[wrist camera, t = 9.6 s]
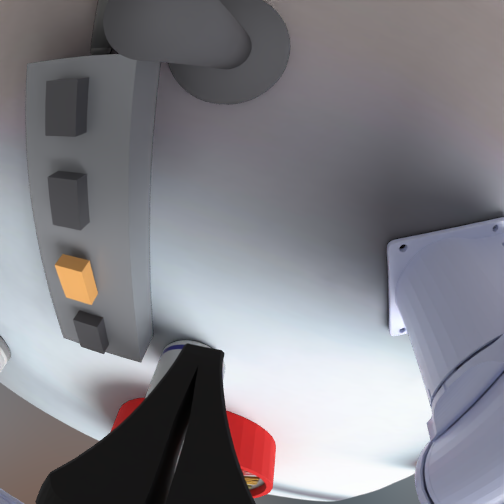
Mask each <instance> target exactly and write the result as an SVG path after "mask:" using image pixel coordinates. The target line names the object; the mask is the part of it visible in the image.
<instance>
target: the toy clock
mask: <svg viewBox="0 0 504 504" xmlns="http://www.w3.org/2000/svg"><path fill="white" fill-rule="evenodd" d="M144 399H145V398H137V399H133V400H130V401H128V402H126V403H124V404H123V405H122V406H121V408H120V409H119V412H118V414H117V417H116V419H115V422H114V425H113V427H112V430H111V431H113V430H114V429H115V428H116V427H117V426H118V425H120V424H121V423H122V422H123V421H124V420H125V419H126V418H127V417H128V416H129V415H130V414H131V413H132V412H133V411H134V410H135V409H136V408H137V407H138V406H139V405H140V404H141V403H142V402H143V400H144ZM226 413H227V418H228V423H229V428H230V432H231V437H232V441H233V444H234V448H235V451H236V455H237V458H238V461H239V464H240V467H241V470H242V472H243V475H244V477H245V480H246V483H247V485H248V487H249V490H250V492H251V495H252V497H253V498H257V497H261V496H263V495H266V494H268V493H269V492H270V491H271V490H272V488H273V477H274V465H275V452H276V445H275V441H274V439H273V438H272V436H271V435H270V434H269V433H268V432H267V431H266V430H265V429H263V428H262V427H260V426H259V425H257V424H256V423H254V422H252V421H250V420H248V419H246V418H244V417H242V416H239V415H237V414H234V413H232V412H229V411H226Z"/></svg>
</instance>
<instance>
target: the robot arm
mask: <svg viewBox="0 0 504 504" xmlns="http://www.w3.org/2000/svg"><path fill="white" fill-rule="evenodd" d="M494 226H495V228H494V229H493V227H494ZM403 244H405V247H404V248H402V249H400V246H401V245H403ZM387 262H388V288H389V332H390V335H392V336H397V335H402V334H406V333H408V336H409V339H410V341H411V344H412V347H413V350H414V353H415V356H416V359H417V362H418V365H419V369H420V372H421V375H422V378H423V382H424V385H425V388H426V392H427V395H428V399H429V402H430V406H431V409H432V417H431V419H430V420H429V421H428V422H427V427H428V431H429V435H430V441H429V442H428V443H427V444H426V446H425V447H424V449H423V450H422V452H421V454H420V456H419V458H418V461H417V465H416V470H415V486H416V491H417V495H418V497H419V500H420V502H421V504H504V217H501V218H497V219H492V220H487V221H483V222H478V223H473V224H469V225H464V226H459V227H454V228H449V229H445V230H440V231H435V232H430V233H425V234H420V235H415V236H410V237H405V238H400V239H395V240H392V241H390V242H389V243H388V245H387ZM401 328H402V329H401ZM223 358H224V352H223V351H222V350H217V349H212V348H207V347H203V346H198V345H193V344H189V343H187V344H185V345H184V346H183V348H182V350H181V352H180V353H179V355H178V357H177V358H176V360H175V361H174V363H173V364H172V366H171V367H170V368H169V370H168V371H167V373H166V374H165V375H164V376H163V378H162V379H161V380H160V382H159V383H158V384H157V385H156V387H155V388H154V389H153V390H152V392H151V393H150V394H149V395H148V396H147V397H146V398H145V399H144V400H143V402H142V403H141V404H140V405H139V406H138V407H137V408H136V409H135V410H134V411H133V412H132V413H131V414H130V415H129V416H128V417H127V418H126V419H125V420H124V421H123V422H122V423H121V424H120V425H118V426H117V427H116V428H115V429H114V430H113V431H111V432H110V433H109V434H108V435H107V436H106V437H104V438H103V439H102V440H100V441H99V442H98V443H97V444H95V445H94V446H92V447H91V448H89V449H88V450H87V451H85V452H84V453H82V454H81V455H79V456H78V457H76V458H75V459H73V460H71V461H70V462H68V463H66V464H64V465H62V466H61V467H59V468H57V469H55V470H54V471H52V472H50V474H49V475H48V476H47V478H46V480H45V481H44V483H43V484H42V486H41V489H40V491H39V494H38V496H37V499H36V504H255V501H254V499H253V497H252V495H251V492H250V490H249V487H248V485H247V483H246V480H245V477H244V475H243V472H242V470H241V467H240V464H239V461H238V458H237V455H236V451H235V448H234V444H233V441H232V437H231V432H230V428H229V423H228V418H227V413H226V407H225V399H224V391H223ZM183 441H184V442H183ZM182 444H183V445H182ZM181 447H182V449H181ZM180 450H181V452H180ZM179 453H180V456H179ZM178 456H179V459H178ZM177 460H178V463H177ZM176 463H177V466H176ZM175 468H176V470H175ZM174 472H175V473H174ZM0 504H24V503H23V502H21V501H19V500H18V499H16V498H15V497H13V496H11V495H10V494H8V493H7V492H5V491H4V490H2V489H1V488H0Z"/></svg>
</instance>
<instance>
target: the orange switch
mask: <svg viewBox="0 0 504 504" xmlns="http://www.w3.org/2000/svg"><path fill="white" fill-rule="evenodd" d="M55 268H56V271H57V274H58V276H59V279H60V282H61V285H62V288H63V290H64V293H65V296H66V297H67V298H70V299H73V300H76V301H80V302H83V303H86V304H90V305H92V303H93V302H94V300H95V298H96V296H97V295H98V291H97V288H96V284H95V280H94V276H93V272H92V269H91V264H90V261H89V260H85V259H81V258H77V257H73V256H69V255H65V254H62V256H61V257H60V258H59V260H58V261H57V262H56V264H55Z"/></svg>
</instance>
